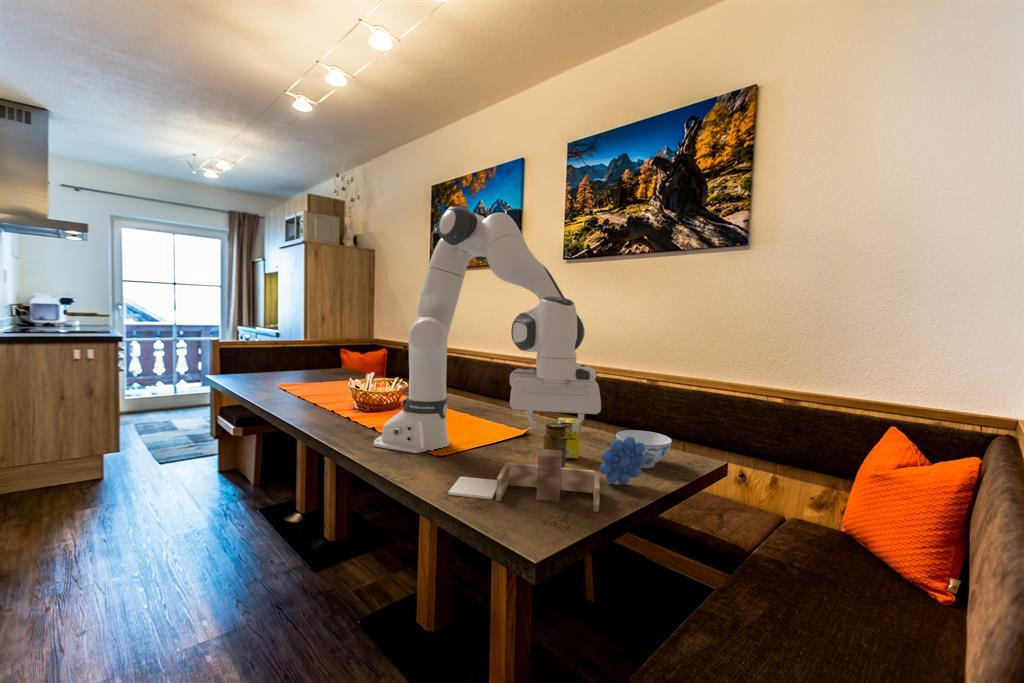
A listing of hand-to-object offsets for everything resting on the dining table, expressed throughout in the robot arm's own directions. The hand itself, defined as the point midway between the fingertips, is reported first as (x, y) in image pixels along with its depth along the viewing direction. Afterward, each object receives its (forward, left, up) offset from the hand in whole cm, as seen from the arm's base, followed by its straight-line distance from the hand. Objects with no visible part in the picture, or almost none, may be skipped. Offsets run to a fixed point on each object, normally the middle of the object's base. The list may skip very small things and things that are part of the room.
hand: (554, 431), depth 101 cm
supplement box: (+2, +30, -15) cm, 33 cm away
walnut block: (-1, 0, -15) cm, 15 cm away
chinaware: (+23, +30, -15) cm, 41 cm away
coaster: (-18, 0, -15) cm, 23 cm away
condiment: (-1, +18, -15) cm, 23 cm away
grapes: (+16, +13, -15) cm, 26 cm away
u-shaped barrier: (-1, 0, -15) cm, 15 cm away
